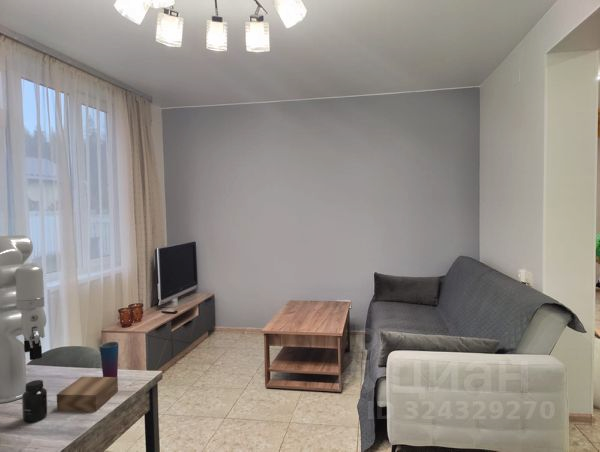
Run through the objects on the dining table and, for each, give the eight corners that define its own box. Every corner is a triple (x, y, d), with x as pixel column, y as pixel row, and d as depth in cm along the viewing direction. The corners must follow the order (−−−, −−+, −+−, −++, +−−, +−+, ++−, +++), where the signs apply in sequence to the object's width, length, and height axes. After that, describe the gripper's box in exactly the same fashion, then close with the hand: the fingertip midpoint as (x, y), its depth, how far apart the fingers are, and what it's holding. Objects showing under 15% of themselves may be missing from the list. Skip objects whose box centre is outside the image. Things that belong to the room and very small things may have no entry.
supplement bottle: (20, 425, 124) (18, 389, 123) (25, 415, 130) (24, 380, 129) (45, 420, 126) (44, 385, 126) (49, 410, 133) (48, 376, 132)
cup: (112, 385, 151) (110, 347, 151) (97, 383, 153) (95, 346, 152) (123, 377, 158) (122, 341, 157) (108, 376, 159) (107, 340, 159)
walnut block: (57, 411, 133) (56, 394, 133) (82, 392, 147) (81, 376, 147) (96, 412, 132) (95, 395, 132) (117, 392, 146) (117, 377, 146)
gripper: (49, 306, 123) (52, 358, 123) (38, 297, 135) (41, 345, 136) (21, 310, 117) (23, 365, 118) (12, 301, 130) (14, 351, 131)
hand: (33, 354), depth 127 cm, fingers open, 9 cm apart
